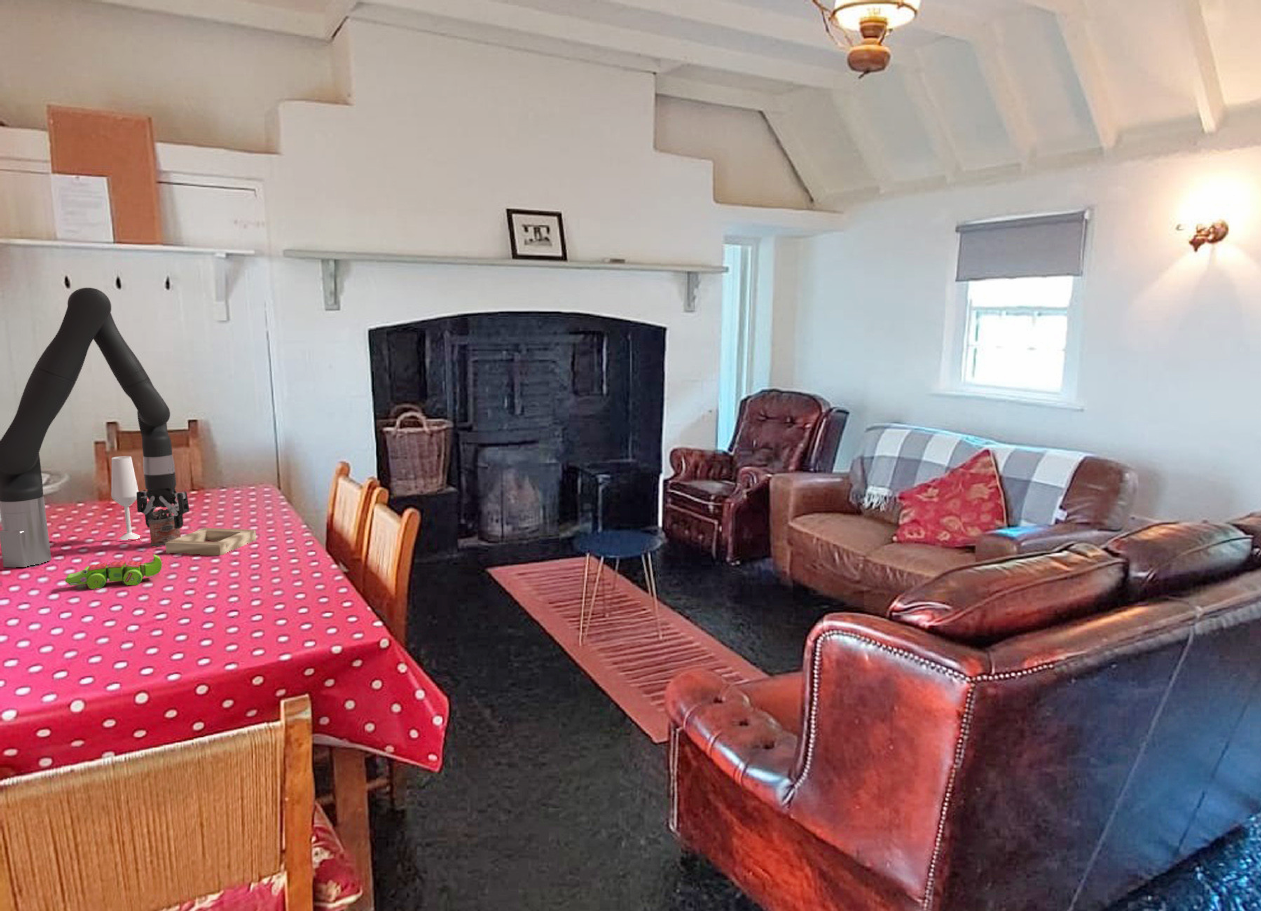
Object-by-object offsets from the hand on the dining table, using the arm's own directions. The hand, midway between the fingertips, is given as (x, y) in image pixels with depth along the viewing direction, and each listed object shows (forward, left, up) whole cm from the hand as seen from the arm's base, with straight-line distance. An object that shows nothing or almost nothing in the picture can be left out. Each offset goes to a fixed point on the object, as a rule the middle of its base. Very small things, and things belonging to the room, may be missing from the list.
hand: (165, 527), depth 224 cm
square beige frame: (-1, -15, -5) cm, 16 cm away
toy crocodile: (-34, -13, -5) cm, 37 cm away
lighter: (0, 0, -5) cm, 5 cm away
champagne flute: (+3, +14, -5) cm, 15 cm away
